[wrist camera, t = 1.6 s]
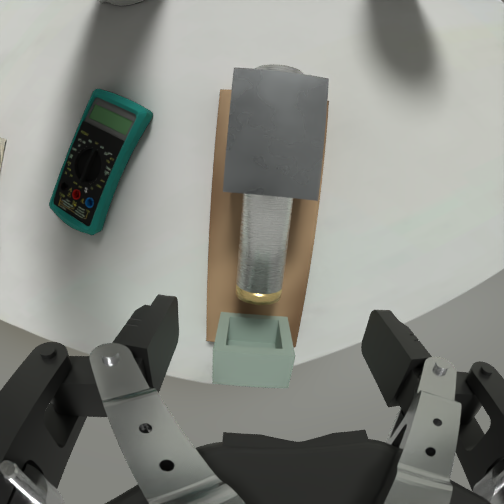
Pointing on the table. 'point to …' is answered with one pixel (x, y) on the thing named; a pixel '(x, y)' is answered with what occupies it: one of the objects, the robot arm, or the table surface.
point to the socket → (253, 351)
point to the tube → (263, 240)
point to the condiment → (1, 149)
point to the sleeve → (275, 134)
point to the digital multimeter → (97, 160)
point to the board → (227, 245)
